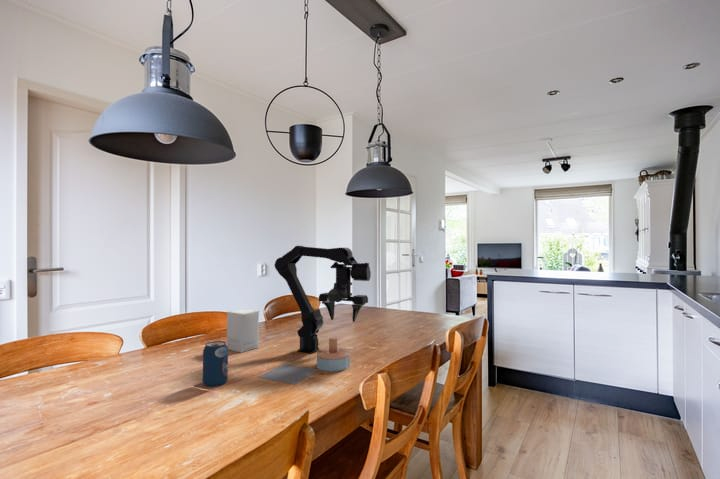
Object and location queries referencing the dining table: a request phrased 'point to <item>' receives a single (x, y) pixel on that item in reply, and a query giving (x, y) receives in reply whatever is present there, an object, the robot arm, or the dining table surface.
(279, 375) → the mat
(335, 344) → the lid
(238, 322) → the supplement box
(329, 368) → the bowl
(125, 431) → the dining table surface
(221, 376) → the soda can
